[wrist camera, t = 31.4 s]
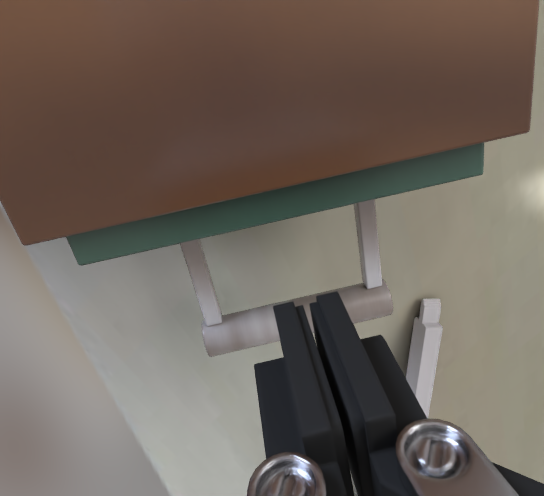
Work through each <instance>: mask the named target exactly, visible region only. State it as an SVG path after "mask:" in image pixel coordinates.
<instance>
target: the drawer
mask: <svg viewBox="0 0 544 496" xmlns="http://www.w3.org/2000/svg"><path fill="white" fill-rule="evenodd" d="M483 166H484V143H479V144H475V145H470V146H466V147H461V148H457V149H453V150H448V151H444V152H439V153H435V154H430V155H426V156H422V157H417V158H413V159H408V160H404V161H399V162H395V163H390V164H386V165H382V166H377V167H373V168H368V169H364V170H359V171H355V172H351V173H346V174H342V175H337V176H333V177H328V178H324V179H319V180H315V181H311V182H306V183H302V184H297V185H293V186H288V187H284V188H280V189H275V190H271V191H266V192H262V193H257V194H253V195H248V196H244V197H240V198H235V199H231V200H226V201H222V202H217V203H213V204H209V205H204V206H200V207H195V208H191V209H186V210H182V211H177V212H173V213H169V214H164V215H160V216H155V217H151V218H146V219H142V220H137V221H133V222H129V223H124V224H120V225H115V226H111V227H106V228H102V229H98V230H93V231H89V232H84V233H80V234H75V235H71V236H66V238H67V240H68V242H69V244H70V247H71V249H72V251H73V253H74V256H75V258H76V260H77V262H78V264H79V265H86V264H91V263H95V262H99V261H104V260H108V259H113V258H117V257H121V256H126V255H130V254H135V253H139V252H143V251H148V250H152V249H157V248H161V247H166V246H170V245H174V244H179V243H180V245H181V248H182V251H183V254H184V258H185V261H186V264H187V267H188V270H189V273H190V276H191V279H192V283H193V286H194V289H195V292H196V295H197V298H198V301H199V304H200V308H201V311H202V314H203V317H204V320H203V321H202V335H203V340H204V345H205V348H206V351H207V353H208V355H209V356H210V357H213V356H217V355H221V354H226V353H230V352H234V351H239V350H243V349H247V348H251V347H256V346H260V345H264V344H269V343H273V342H277V341H280V337H279V332H278V328H277V323H276V319H275V314H274V310H273V306H274V305H279V304H283V303H287V302H292V301H293V302H294V305H295V307H296V306H300V305H303V306H304V309H305V312H306V316H307V319H308V322H309V325H310V328H311V331H312V333H314V328H313V322H312V317H311V311H310V306H309V303H313V302H317V301H316V296H318V295H322V294H326V293H331V292H335V291H338V293H339V295H340V297H341V299H342V301H343V304H344V306H345V308H346V310H347V312H348V314H349V316H350V319H351V321H352V323H353V324H354V323H358V322H363V321H367V320H371V319H376V318H380V317H384V316H388V315H391V314H392V313H393V302H392V297H391V294H390V290H389V288H388V286H387V284H386V282H385V281H384V280H383V279H382V275H381V264H380V254H379V243H378V232H377V221H376V210H375V199H377V198H381V197H386V196H390V195H395V194H399V193H403V192H408V191H412V190H417V189H421V188H425V187H430V186H434V185H439V184H443V183H447V182H452V181H456V180H461V179H465V178H469V177H474V176H478V175H482V174H483ZM351 204H354V210H355V219H356V227H357V236H358V245H359V253H360V262H361V271H362V279H363V282H364V283H361V284H356V285H352V286H348V287H343V288H339V289H335V290H330V291H326V292H322V293H317V294H313V295H309V296H304V297H300V298H296V299H291V300H287V301H283V302H278V303H274V304H270V305H265V306H261V307H257V308H252V309H248V310H244V311H239V312H235V313H231V314H227V315H222V313H221V309H220V306H219V303H218V299H217V296H216V292H215V289H214V286H213V282H212V279H211V276H210V272H209V269H208V265H207V262H206V259H205V255H204V252H203V248H202V245H201V242H200V239H201V238H205V237H210V236H214V235H218V234H223V233H227V232H232V231H236V230H240V229H245V228H249V227H254V226H258V225H262V224H267V223H271V222H276V221H280V220H284V219H289V218H293V217H298V216H302V215H306V214H311V213H315V212H320V211H324V210H328V209H333V208H337V207H342V206H346V205H351Z"/></svg>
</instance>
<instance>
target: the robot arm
mask: <svg viewBox="0 0 544 496" xmlns="http://www.w3.org/2000/svg"><path fill="white" fill-rule="evenodd" d="M316 301H317V302H313V303H309V306H310V311H311V317H312V322H313V328H314V333H315V339H316V343H315V340H314V337H313V334H312V331H311V328H310V325H309V322H308V319H307V316H306V312H305V309H304V306H303V305H300V306H296V307H295V305H294V302H293V301H292V302H287V303H283V304H279V305H274V306H273V310H274V314H275V319H276V323H277V328H278V332H279V337H280V341H281V346H282V351H283V355H284V357H283V358H279V359H275V360H271V361H266V362H262V363H258V364H254V369H255V377H256V385H257V392H258V400H259V407H260V415H261V422H262V430H263V438H264V445H265V453H266V460H264V461H263V462H262V463H261V464H260V465H259V466H258V467H257V468H256V469H255V471H254V473H253V475H252V476H251V478H250V481H249V486H248V490H247V496H354V492H353V486H352V480H351V474H352V478H353V481H354V484H355V487H356V490H357V494H358V496H544V484H542V483H540V482H538V481H535V480H533V479H530V478H528V477H526V476H523V475H521V474H519V473H516V472H514V471H511V470H509V469H507V468H504V467H502V466H500V465H497V464H495V463H492V462H491V461H490V460H489V459H488V458H487V456H486V455H485V454H484V453H483V452H482V450H481V449H480V448H479V447H478V446H477V444H476V443H475V442H474V441H473V440H472V438H471V437H470V436H469V435H468V434H467V433H466V432H464V431H463V430H462V429H461V428H460V427H458V426H456V425H454V424H452V423H450V422H447V421H443V420H440V419H427V417H426V415H425V413H424V411H423V409H422V408H421V406H420V404H419V402H418V400H417V398H416V396H415V395H414V393H413V391H412V389H411V387H410V385H409V384H408V382H407V380H406V378H405V376H404V374H403V372H402V371H401V369H400V367H399V365H398V363H397V361H396V360H395V358H394V356H393V354H392V352H391V350H390V348H389V347H388V345H387V343H386V341H385V339H384V338H383V336H381V335H377V336H373V337H369V338H365V339H360V338H359V336H358V334H357V331H356V329H355V327H354V325H353V323H352V321H351V319H350V316H349V314H348V312H347V310H346V308H345V306H344V304H343V301H342V299H341V297H340V295H339V293H338V291H335V292H331V293H326V294H322V295H318V296H316ZM316 344H317V346H316ZM350 471H351V474H350Z"/></svg>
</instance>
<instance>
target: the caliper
mask: <svg viewBox="0 0 544 496" xmlns="http://www.w3.org/2000/svg"><path fill="white" fill-rule="evenodd" d="M440 301H441V300H440V299H422V302H421V308H420V315H419V317H415V319H414V326H413V332H412V339H411V346H410V353H409V360H408V367H407V374H406V380H407V382H408V384H409V385H410V387H411V389H412V391H413V393H414V395H415V396H416V398H417V400H418V402H419V404H420V406H421V408H422V409H423V411H424V413H425V415H426V417H427V419H428V414H429V408H430V402H431V396H432V390H433V384H434V378H435V372H436V366H437V360H438V354H439V347H440V341H441V335H442V329H443V327H442V326H441V325H440V324H439V317H440V311H441V304H440Z"/></svg>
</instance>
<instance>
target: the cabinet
mask: <svg viewBox="0 0 544 496" xmlns="http://www.w3.org/2000/svg"><path fill="white" fill-rule="evenodd" d="M538 10H539V0H0V201H1V203H2V205H3V207H4V209H5V211H6V213H7V215H8V217H9V219H10V221H11V223H12V224H13V226H14V228H15V230H16V232H17V234H18V236H19V238H20V240H21V242H22V244H23V245H31V244H35V243H40V242H44V241H49V240H53V239H58V238H62V237H66V236H71V235H75V234H80V233H84V232H89V231H93V230H98V229H102V228H106V227H111V226H115V225H120V224H124V223H129V222H133V221H137V220H142V219H146V218H151V217H155V216H160V215H164V214H169V213H173V212H177V211H182V210H186V209H191V208H195V207H200V206H204V205H209V204H213V203H217V202H222V201H226V200H231V199H235V198H240V197H244V196H248V195H253V194H257V193H262V192H266V191H271V190H275V189H280V188H284V187H288V186H293V185H297V184H302V183H306V182H311V181H315V180H319V179H324V178H328V177H333V176H337V175H342V174H346V173H351V172H355V171H359V170H364V169H368V168H373V167H377V166H382V165H386V164H390V163H395V162H399V161H404V160H408V159H413V158H417V157H422V156H426V155H430V154H435V153H439V152H444V151H448V150H453V149H457V148H461V147H466V146H470V145H475V144H479V143H484V142H488V141H493V140H497V139H501V138H506V137H510V136H515V135H519V134H524V133H527V132H529V130H530V121H531V107H532V93H533V80H534V66H535V52H536V38H537V24H538Z"/></svg>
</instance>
